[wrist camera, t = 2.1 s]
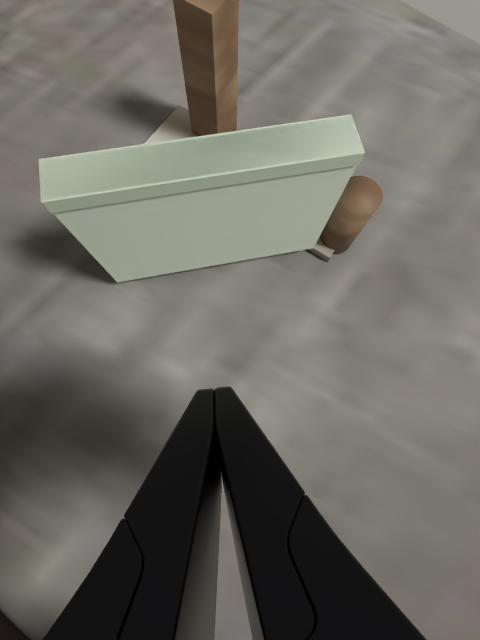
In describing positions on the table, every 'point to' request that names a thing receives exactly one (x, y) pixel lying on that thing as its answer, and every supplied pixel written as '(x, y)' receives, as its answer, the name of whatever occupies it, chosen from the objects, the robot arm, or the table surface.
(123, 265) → the pale green flat panel
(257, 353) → the table surface
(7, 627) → the diary
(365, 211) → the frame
